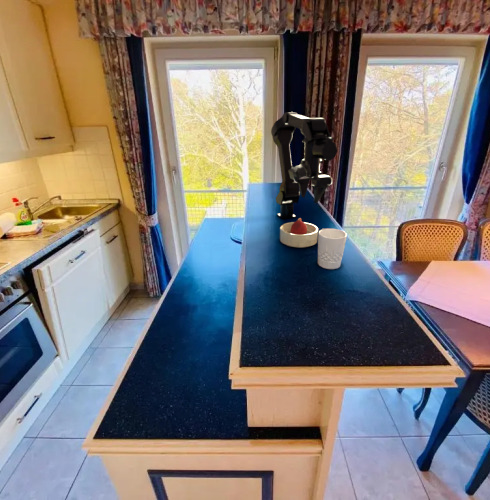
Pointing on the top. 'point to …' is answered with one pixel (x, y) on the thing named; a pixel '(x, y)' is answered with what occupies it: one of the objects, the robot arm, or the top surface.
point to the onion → (299, 227)
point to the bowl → (298, 236)
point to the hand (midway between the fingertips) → (309, 199)
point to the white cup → (331, 248)
